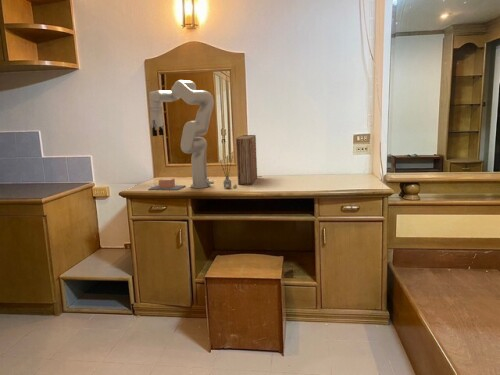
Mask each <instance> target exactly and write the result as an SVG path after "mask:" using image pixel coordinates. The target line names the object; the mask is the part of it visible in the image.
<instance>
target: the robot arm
mask: <svg viewBox="0 0 500 375" xmlns="http://www.w3.org/2000/svg"><path fill="white" fill-rule="evenodd" d="M170 89H171V90H166V89H165V90H164V89H163V90H162V89H157V90H154V91H150V92H148V98H149V107H150V109H149V110H150V120H149V121H150V128H151V133H152V134H151V135H152V137H158V135H159V136H164V123H165V122H164V120H163V113H162V112H163V110H162V109H163V107H162V106H163V105H162V103H172V102H175V101H178V100H180V99H182V100H183V101H184V103H186V104H187V105H191V106H193V105H194V106H195V105H196V106H197V105H198V106H199V105H200V107H199V108H198V110H197V112H196V116H195V119H194V120H190V121H189V120H188V121H187V122H186V123H185V124H184V126H183V129H182V134H181V140H180V150H181V151H182V152H183V153H184V154H191V157H190V158H191V159H190V160H191V176H192V184H189V185H190V188H191V189H192V188H193V189H204V188H209V187H211V185H213V184H215V181H214V180H210V179H209V178H208V166H207V148H208V143H207V140H206V138H204V137H203V136H205V135H207V133H208V130H209V126H210V121H211V116H212V113H213V109H214V105H215V101H214V100H215V99H214V97H213V95H212V94H211V92H210V91H209V90H208V91H207V90H202V89H200V90H199V89H198V90H197V85H196V83H195V82H194V81H192V80H186V79H185V80H184V79H178V80H176V81H175V82H174V84H173V85H171V88H170Z"/></svg>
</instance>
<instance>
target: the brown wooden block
mask: <svg viewBox="0 0 500 375" xmlns="http://www.w3.org/2000/svg"><path fill="white" fill-rule="evenodd" d="M256 135H257V134H251V135H249V134H245V135H240V136H237V137H235V146H236V166H237V184H238V185H239V186H240V185H243V184H244V185H247V184H248V185H250V184H251V185H253V184H254V183H255V182H256V180H257V179H258V166H257V164H258V163H257V138H256ZM238 185H237V186H238Z"/></svg>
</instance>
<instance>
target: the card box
mask: <svg viewBox="0 0 500 375" xmlns="http://www.w3.org/2000/svg"><path fill="white" fill-rule="evenodd" d="M158 185H159V188H173V187H175V185H176V181H175V178H161V179H159V180H158Z"/></svg>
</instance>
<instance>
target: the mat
mask: <svg viewBox="0 0 500 375" xmlns="http://www.w3.org/2000/svg"><path fill="white" fill-rule="evenodd" d="M184 188H186V185H185V184H184V185H176V184H175V187H173V188H159V184H158V185H155V186H152V187H150V188H148V191H179V190H181V189H184Z"/></svg>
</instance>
